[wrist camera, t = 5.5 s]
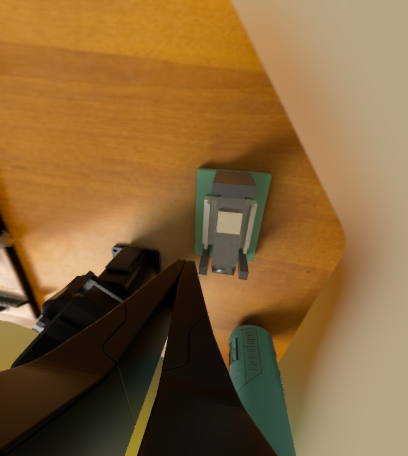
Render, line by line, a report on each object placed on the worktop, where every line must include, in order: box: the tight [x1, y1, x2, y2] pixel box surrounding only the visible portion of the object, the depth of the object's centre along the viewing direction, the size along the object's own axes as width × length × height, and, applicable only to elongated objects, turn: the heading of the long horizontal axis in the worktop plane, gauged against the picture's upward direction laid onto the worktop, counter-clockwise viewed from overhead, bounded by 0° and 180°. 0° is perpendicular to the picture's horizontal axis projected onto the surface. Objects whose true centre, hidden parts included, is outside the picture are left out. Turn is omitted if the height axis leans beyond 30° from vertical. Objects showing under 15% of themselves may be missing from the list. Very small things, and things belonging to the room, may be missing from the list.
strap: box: [211, 195, 247, 275], centre depth 17 cm, size 8×2×1 cm, turn 177°
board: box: [194, 168, 272, 280], centre depth 18 cm, size 10×7×6 cm
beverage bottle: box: [229, 325, 296, 456], centre depth 20 cm, size 6×7×20 cm
